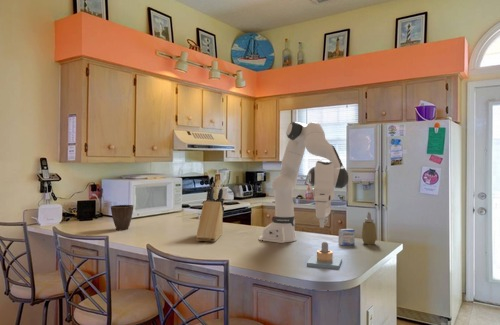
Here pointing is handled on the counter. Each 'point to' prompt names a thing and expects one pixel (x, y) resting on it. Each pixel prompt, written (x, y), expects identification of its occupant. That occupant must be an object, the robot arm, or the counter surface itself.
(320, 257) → the copper ring
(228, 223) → the counter surface
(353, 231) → the medicine box
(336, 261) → the post base
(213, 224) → the knife block
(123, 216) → the plant pot
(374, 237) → the squeeze bottle
